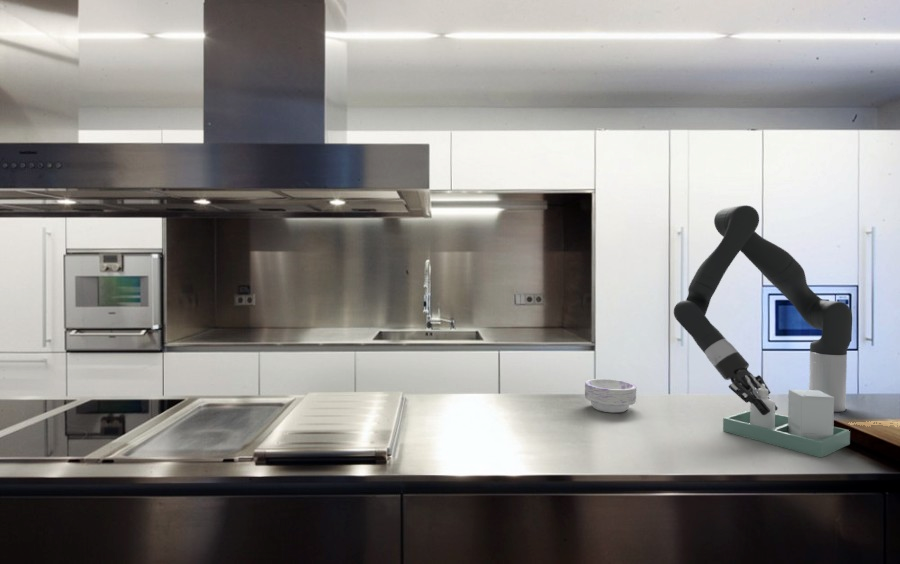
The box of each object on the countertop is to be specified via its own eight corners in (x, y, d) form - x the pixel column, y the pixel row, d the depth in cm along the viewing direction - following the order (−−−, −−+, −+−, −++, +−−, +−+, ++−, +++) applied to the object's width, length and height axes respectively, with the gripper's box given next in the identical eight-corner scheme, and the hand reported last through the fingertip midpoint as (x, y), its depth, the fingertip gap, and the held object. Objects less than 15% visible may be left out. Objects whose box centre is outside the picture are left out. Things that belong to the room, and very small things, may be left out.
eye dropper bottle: (761, 425, 142) (763, 381, 141) (777, 431, 136) (778, 386, 136) (747, 425, 141) (748, 382, 141) (762, 432, 136) (763, 387, 135)
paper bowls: (646, 410, 159) (646, 384, 158) (614, 419, 150) (614, 392, 150) (606, 399, 171) (606, 375, 171) (574, 407, 163) (574, 382, 162)
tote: (753, 420, 148) (753, 408, 148) (849, 444, 129) (850, 430, 129) (723, 430, 139) (723, 418, 139) (821, 457, 120) (821, 442, 120)
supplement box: (834, 449, 125) (835, 397, 124) (799, 447, 126) (801, 395, 126) (818, 439, 132) (820, 389, 132) (786, 437, 134) (787, 388, 133)
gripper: (721, 353, 140) (768, 409, 130) (748, 348, 148) (794, 400, 138) (702, 369, 145) (746, 424, 135) (729, 364, 152) (773, 415, 143)
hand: (770, 412), depth 137 cm, fingers closed on eye dropper bottle, 3 cm apart
